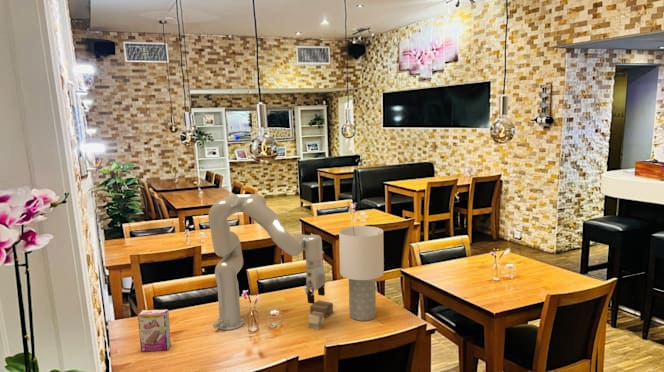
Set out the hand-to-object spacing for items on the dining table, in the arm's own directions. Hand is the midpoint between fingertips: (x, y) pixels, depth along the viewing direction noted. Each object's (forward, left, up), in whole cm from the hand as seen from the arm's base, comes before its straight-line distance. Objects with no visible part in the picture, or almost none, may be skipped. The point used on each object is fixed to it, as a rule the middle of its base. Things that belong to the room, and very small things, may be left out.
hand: (316, 299), depth 203 cm
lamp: (+19, -15, -13) cm, 27 cm away
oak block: (0, 0, -13) cm, 13 cm away
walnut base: (+13, +4, -13) cm, 19 cm away
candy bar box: (-45, +52, -13) cm, 71 cm away
